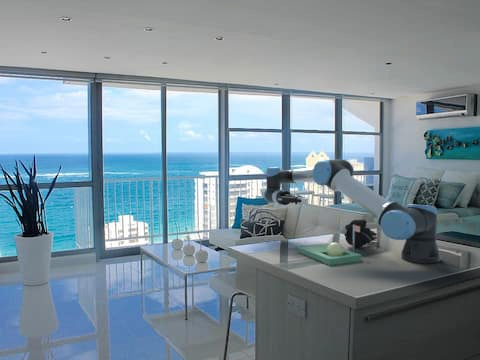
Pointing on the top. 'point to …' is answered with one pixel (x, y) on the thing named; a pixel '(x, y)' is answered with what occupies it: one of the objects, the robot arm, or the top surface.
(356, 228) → the flagpost
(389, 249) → the top surface
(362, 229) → the figurine
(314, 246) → the green
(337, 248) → the ball
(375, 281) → the top surface
